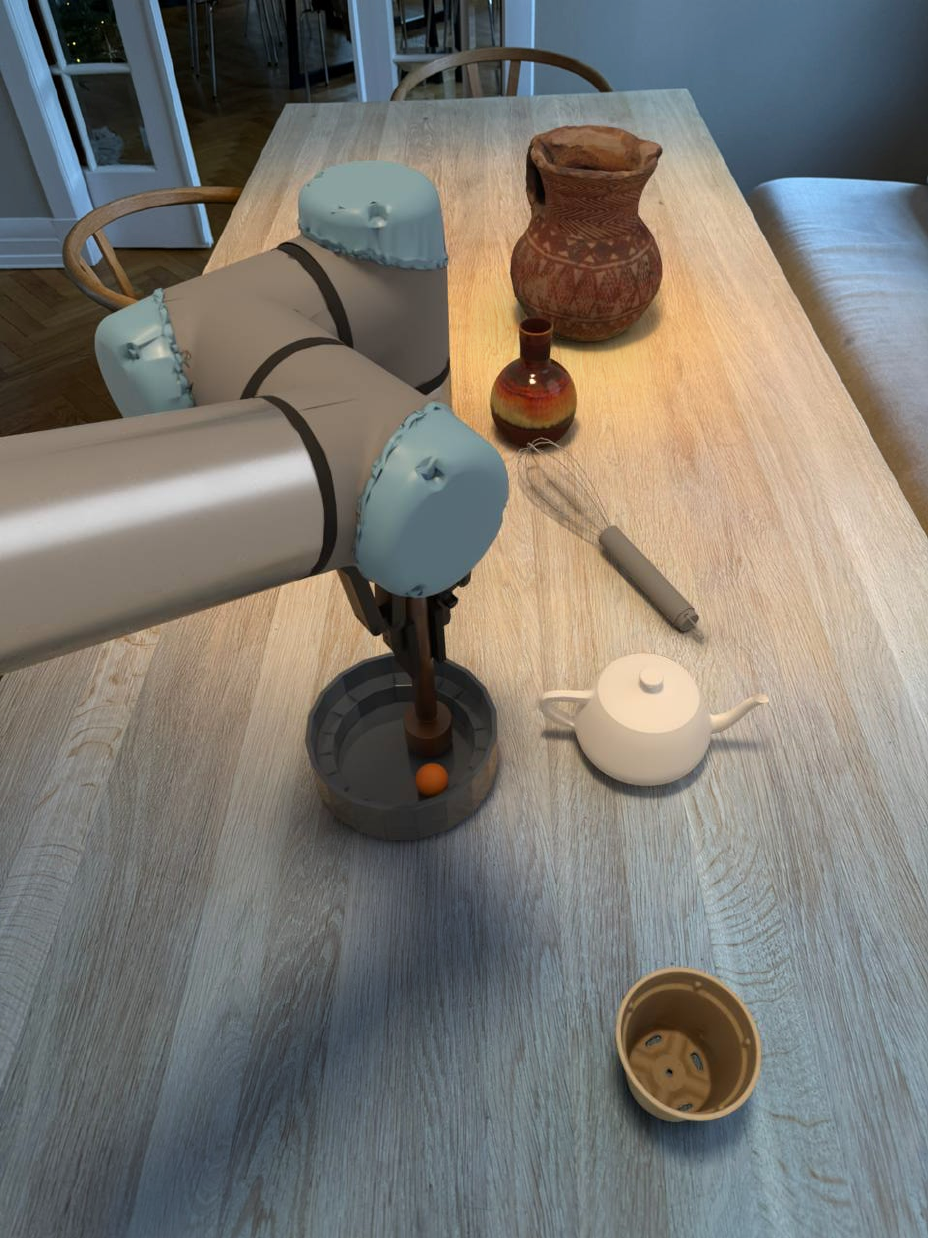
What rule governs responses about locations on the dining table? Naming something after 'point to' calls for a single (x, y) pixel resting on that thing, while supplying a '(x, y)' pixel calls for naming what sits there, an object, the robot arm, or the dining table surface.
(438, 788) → the bead
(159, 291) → the robot arm
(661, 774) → the teapot
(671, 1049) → the flower pot
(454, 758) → the bowl
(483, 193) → the dining table surface
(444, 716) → the wooden pestle
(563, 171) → the jug
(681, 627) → the kitchen whisk
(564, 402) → the vase
